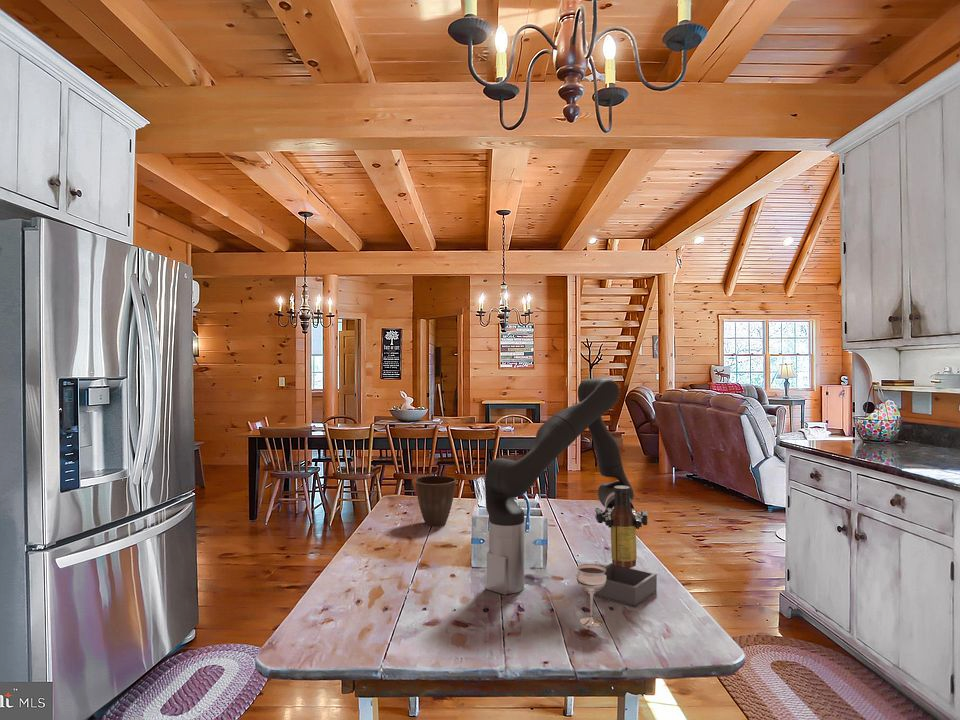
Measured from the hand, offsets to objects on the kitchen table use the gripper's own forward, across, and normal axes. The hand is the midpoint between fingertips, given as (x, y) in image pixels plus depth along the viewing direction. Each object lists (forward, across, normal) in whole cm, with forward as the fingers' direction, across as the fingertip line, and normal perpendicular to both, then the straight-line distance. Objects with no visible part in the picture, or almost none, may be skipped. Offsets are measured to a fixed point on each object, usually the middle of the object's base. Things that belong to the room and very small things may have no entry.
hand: (623, 524), depth 149 cm
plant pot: (-56, -62, +19) cm, 86 cm away
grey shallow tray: (-2, 0, +18) cm, 18 cm away
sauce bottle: (-2, 0, +11) cm, 11 cm away
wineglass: (+16, -8, +18) cm, 26 cm away
